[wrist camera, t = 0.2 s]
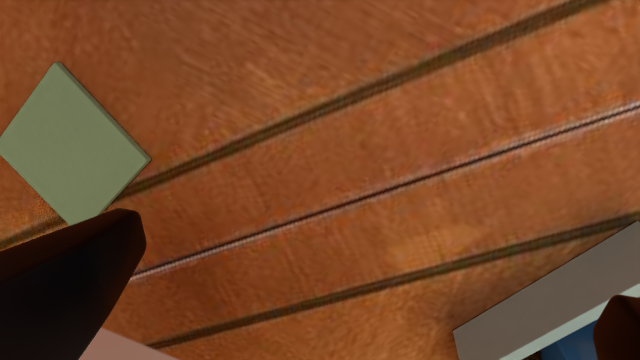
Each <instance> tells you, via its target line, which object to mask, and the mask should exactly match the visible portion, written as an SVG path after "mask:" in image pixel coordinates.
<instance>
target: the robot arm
mask: <svg viewBox="0 0 640 360" xmlns="http://www.w3.org/2000/svg"><path fill="white" fill-rule="evenodd" d="M145 250H146V238H145V233H144V229H143V225H142V220H141V217H140V215H139V213H138V212H136V211H134V210H128V209H122V208H117V209H114V210H111V211H108V212H106V213H103V214H100V215H98V216H95V217H92V218H90V219H87V220H84V221H81V222H79V223H76V224H73V225H71V226H68V227H65V228H62V229H60V230H57V231H54V232H52V233H49V234H46V235H43V236H41V237H38V238H35V239H33V240H30V241H27V242H25V243H22V244H19V245H16V246H14V247H11V248H8V249H6V250H3V251H0V360H78V359H79V358H80V356H81V355H82V354H83V352H84V351H85V349H86V348H87V347H88V345H89V344H90V342H91V341H92V339H93V338H94V337H95V335H96V333H97V332H98V331H99V329H100V328H101V327H102V325H103V324H104V322H105V320H106V319H107V317H108V316H109V314H110V313H111V311H112V309H113V308H114V306H115V304H116V303H117V301H118V299H119V297H120V295H121V294H122V292H123V290H124V288H125V287H126V285H127V283H128V281H129V280H130V278H131V276H132V274H133V272H134V271H135V269H136V267H137V265H138V264H139V262H140V260H141V258H142V256H143V255H144V253H145ZM593 341H594V346H595V350H596V355H597V360H640V298H638V297H632V296H626V295H614V296H613V297H611V298H610V300H609V301H608V303H607V305H606V306H605V308H604V310H603V312H602V313H601V315H600V317H599V318H598V320H597V322H596V323H595V326H594V329H593Z"/></svg>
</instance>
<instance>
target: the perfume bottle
mask: <svg viewBox="0 0 640 360" xmlns="http://www.w3.org/2000/svg"><path fill="white" fill-rule="evenodd" d="M597 320H598V319H597ZM597 320H595V321H593V322H591V323H589V324H587V325H585V326H584V327H582V328H580V329H578V330H576V331H574V332H572V333H570V334H569V335H567V336H565V337H563V338H561V339H559V340H557V341H555V342H554V343H552V344H550V345H548V346H546V347H544V348H542V349H541V358H542V360H597V355H596V350H595V346H594V341H593V329H594V326H595V323H596V322H597Z"/></svg>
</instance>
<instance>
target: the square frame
mask: <svg viewBox="0 0 640 360" xmlns="http://www.w3.org/2000/svg"><path fill="white" fill-rule="evenodd" d="M614 295H626V296H632V297H640V222H638V221H636V222H635V223H633V224H631V225H630V226H628V227H626V228H625V229H623V230H621V231H620V232H618V233H616V234H614V235H613V236H611V237H609V238H608V239H606V240H604V241H603V242H601V243H599V244H598V245H596V246H594V247H593V248H591V249H589V250H588V251H586V252H584V253H583V254H581V255H579V256H578V257H576V258H574V259H573V260H571V261H569V262H568V263H566V264H564V265H563V266H561V267H559V268H558V269H556V270H554V271H552V272H551V273H549V274H547V275H546V276H544V277H542V278H541V279H539V280H537V281H536V282H534V283H532V284H531V285H529V286H527V287H526V288H524V289H522V290H521V291H519V292H517V293H516V294H514V295H512V296H511V297H509V298H507V299H506V300H504V301H502V302H501V303H499V304H497V305H495V306H494V307H492V308H490V309H489V310H487V311H485V312H484V313H482V314H480V315H479V316H477V317H475V318H474V319H472V320H470V321H469V322H467V323H465V324H464V325H462V326H460V327H459V328H457V329H455V330H454V331H453V334H454V339H455V344H456V348H457V353H458V358H459V360H522V359H524V358H526V357H527V356H529V355H531V354H533V353H535V352H537V351H539V350H540V349H542V348H544V347H546V346H548V345H550V344H552V343H554V342H555V341H557V340H559V339H561V338H563V337H565V336H567V335H569V334H570V333H572V332H574V331H576V330H578V329H580V328H582V327H584V326H585V325H587V324H589V323H591V322H593V321H595V320H597V319H598V318H599V317H600V315H601V313H602V312H603V310H604V308H605V306H606V305H607V303H608V301H609V300H610V298H611V297H613V296H614Z"/></svg>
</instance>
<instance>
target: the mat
mask: <svg viewBox="0 0 640 360" xmlns="http://www.w3.org/2000/svg"><path fill="white" fill-rule="evenodd" d="M0 155H1V156H2V157H3V158H4V159H5V160H6V161H7V162H8V163H9V164H10V165H11V166H12V167H13V168H14V169H15V170H16V171H17V172H18V173H19V174H20V175H21V176H22V177H23V178H24V179H25V180H26V181H27V182H28V183H29V184H30V185H31V186H32V187H33V188H34V190H35V191H36V192H37V193H38V194H39V195H40V196H41V197H42V198H43V199H44V200H45V201H46V202H47V203H48V204H49V205H50V206H51V207H52V208H53V209H54V210H55V211H56V212H57V213H58V214H59V215H60V216H61V217H62V218H63V219H64V220H65V221H66V222H67V223H68V224H69V225H70V226H71V225H73V224H76V223H79V222H81V221H84V220H87V219H90V218H92V217H95V216H98V215H100V214H101V213H102V212H103V211H104V210H105V209H106V208H107V207H108V206H109V205H110V204H111V203H112V202H113V200H114V199H115V198H116V197H117V196H118V195H119V194H120V193H121V192H122V191H123V190H124V189H125V188H126V187H127V185H128V184H129V183H130V182H131V181H132V180H133V179H134V178H135V177H136V176H137V175H138V174H139V173H140V171H141V170H142V169H143V168H144V167H145V166H146V165H147V164H148V163H149V162H150V161H151V158H150V157H149V156H148V155H147V154H146V153H145V152H144V151H143V150H142V149H141V148H140V147H139V145H138V144H137V143H136V142H135V141H134V140H133V139H132V138H131V137H130V136H129V135H128V134H127V133H126V132H125V131H124V130H123V128H122V127H121V126H120V125H119V124H118V123H117V122H116V121H115V120H114V119H113V118H112V117H111V116H110V115H109V114H108V113H107V111H106V110H105V109H104V108H103V107H102V106H101V105H100V104H99V103H98V102H97V101H96V100H95V99H94V98H93V97H92V96H91V94H90V93H89V92H88V91H87V90H86V89H85V88H84V87H83V86H82V85H81V84H80V83H79V82H78V81H77V80H76V79H75V77H74V76H73V75H72V74H71V73H70V72H69V71H68V70H67V69H66V68H65V67H64V66H63V65H62V64H61V63H60V62H54V63H53V65H52V66H51V67H50V69H49V70H48V72H47V73H46V74H45V76H44V77H43V79H42V80H41V81H40V83H39V84H38V85H37V87H36V88H35V90H34V91H33V92H32V94H31V95H30V97H29V98H28V99H27V101H26V102H25V104H24V105H23V106H22V108H21V109H20V111H19V112H18V113H17V115H16V116H15V117H14V119H13V120H12V122H11V123H10V124H9V126H8V127H7V129H6V130H5V131H4V133H3V134H2V136H1V137H0Z"/></svg>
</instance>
